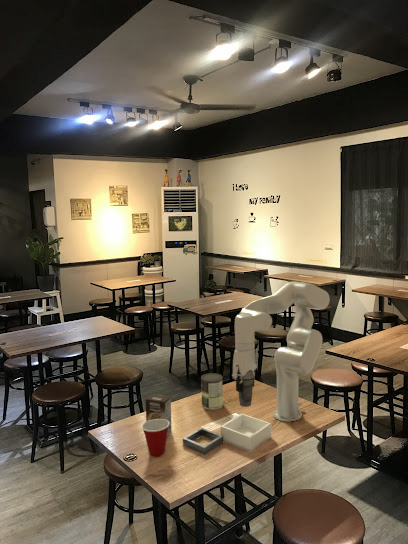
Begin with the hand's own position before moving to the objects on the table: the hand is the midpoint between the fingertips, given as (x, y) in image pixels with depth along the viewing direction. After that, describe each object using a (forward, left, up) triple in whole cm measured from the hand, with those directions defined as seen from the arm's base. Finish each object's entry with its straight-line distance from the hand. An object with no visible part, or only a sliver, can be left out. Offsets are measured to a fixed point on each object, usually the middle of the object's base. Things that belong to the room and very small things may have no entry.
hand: (245, 388), depth 175 cm
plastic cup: (+30, -21, -22) cm, 42 cm away
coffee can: (-16, -31, -22) cm, 41 cm away
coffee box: (+19, -31, -22) cm, 42 cm away
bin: (0, 0, -22) cm, 22 cm away
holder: (+14, -11, -22) cm, 28 cm away
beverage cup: (0, 0, -7) cm, 7 cm away
